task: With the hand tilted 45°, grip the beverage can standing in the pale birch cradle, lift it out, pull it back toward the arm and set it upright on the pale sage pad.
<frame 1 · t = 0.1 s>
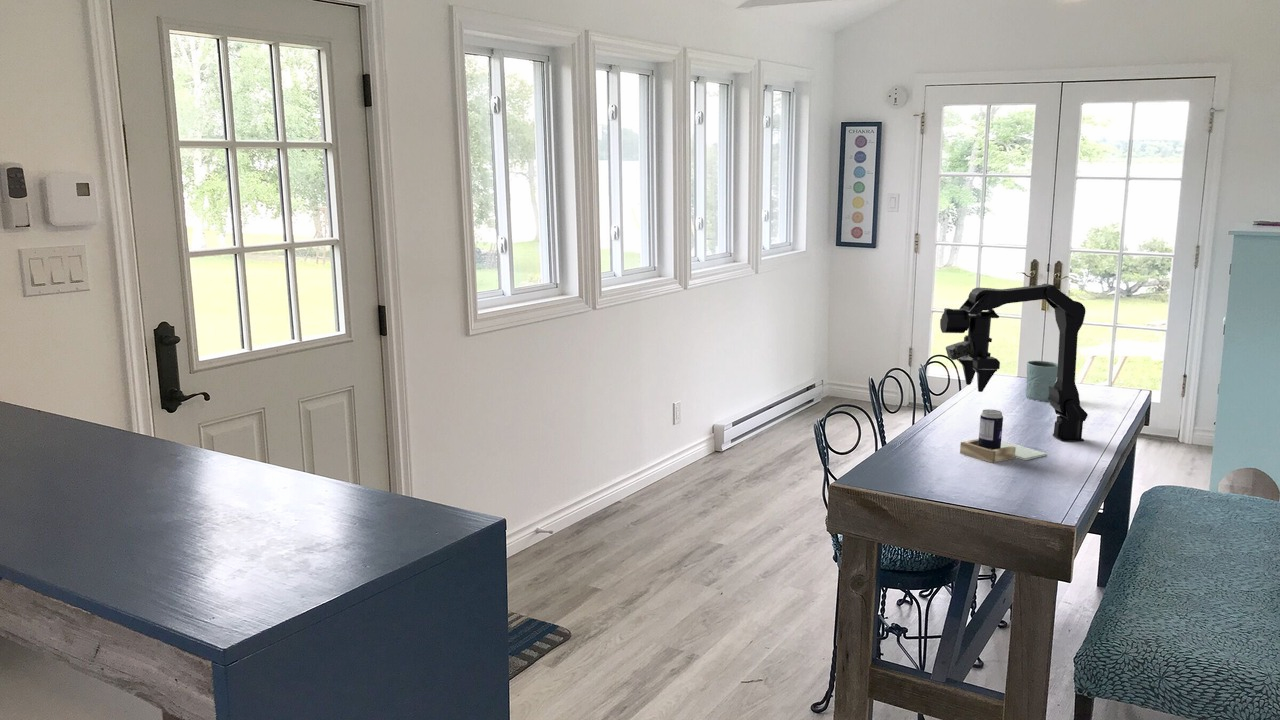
hand: (974, 388, 276), 15 cm above the table, tool pointing down, fingers open, 9 cm apart
beverage can: (988, 455, 262), on the table
birch cradle: (988, 455, 262), on the table
sage pad: (1010, 450, 267), on the table
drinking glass: (1039, 399, 330), on the table
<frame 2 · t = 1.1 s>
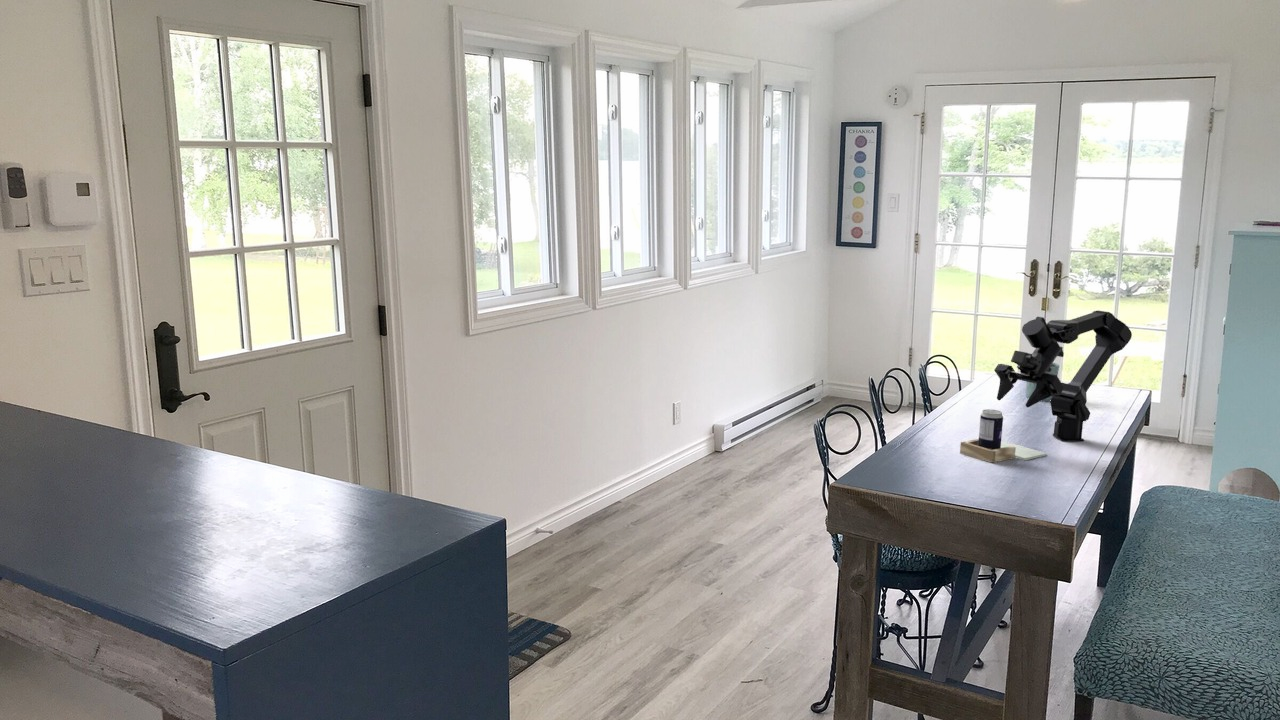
hand: (1012, 402, 264), 13 cm above the table, tool tilted 45°, fingers open, 9 cm apart
nothing on the table moved.
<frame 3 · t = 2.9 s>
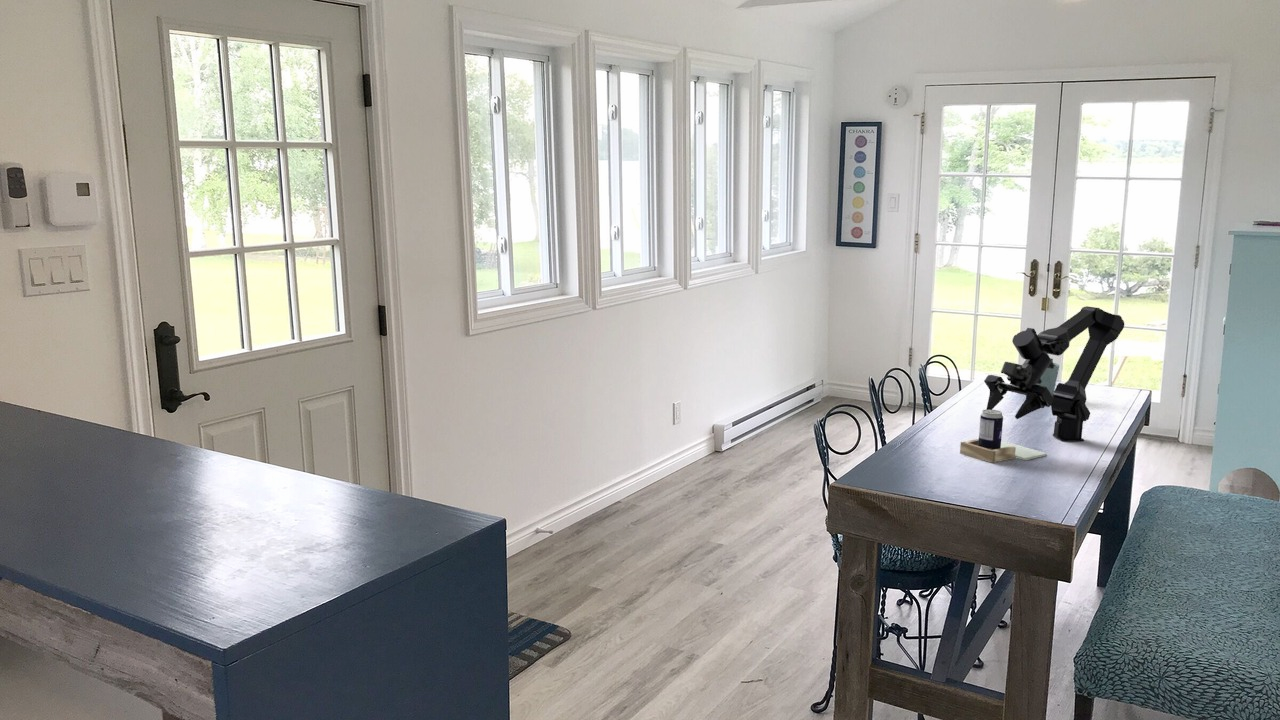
hand: (1001, 414, 262), 11 cm above the table, tool tilted 45°, fingers open, 9 cm apart
nothing on the table moved.
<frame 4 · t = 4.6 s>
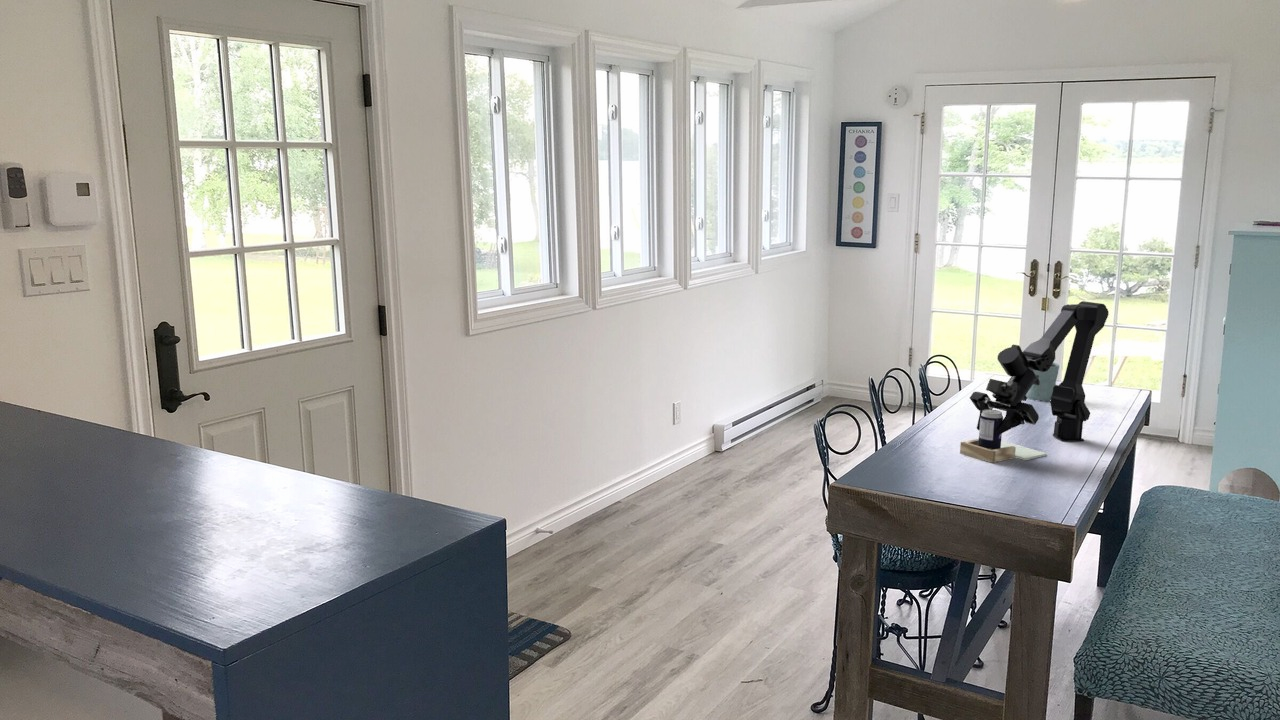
hand: (986, 431, 260), 7 cm above the table, tool tilted 45°, fingers closed on beverage can, 6 cm apart
beverage can: (988, 455, 262), on the table, touching gripper
everything else where it was.
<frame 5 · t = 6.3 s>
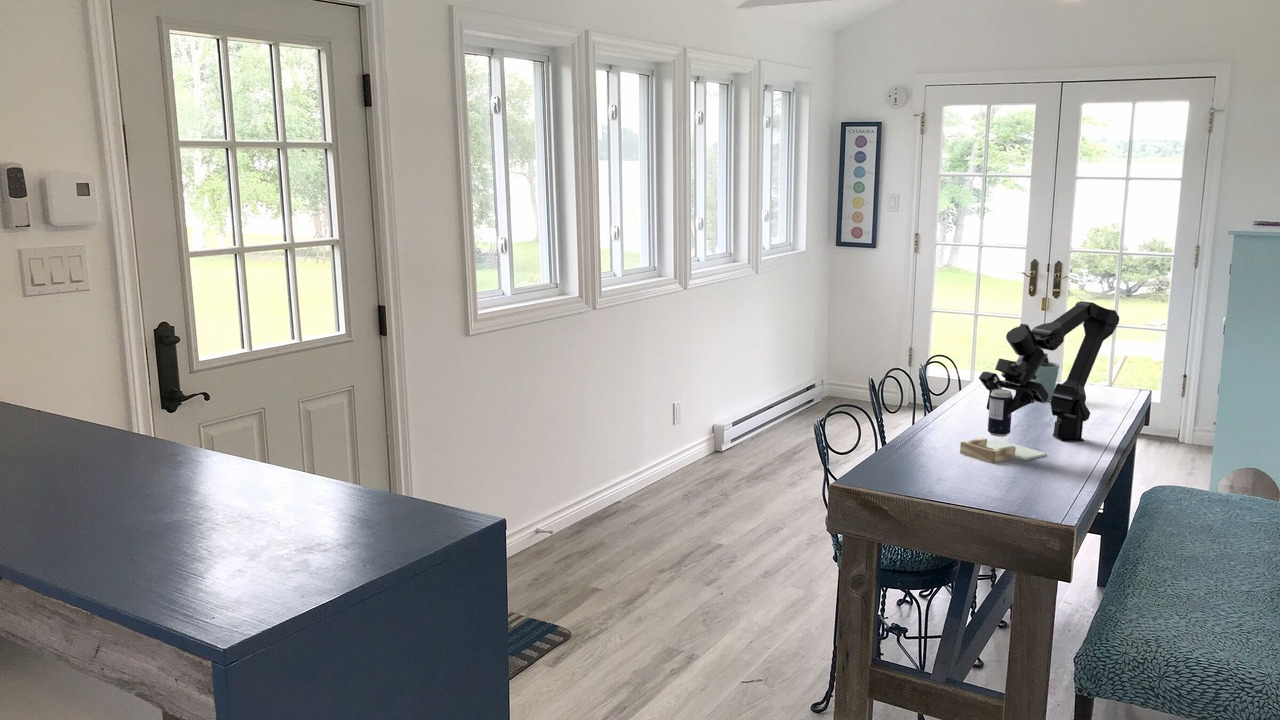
hand: (996, 411, 261), 12 cm above the table, tool tilted 45°, fingers closed on beverage can, 6 cm apart
beverage can: (998, 435, 263), point 5 cm above the table, touching gripper
everything else where it was.
when the fingers open (8 cm above the table, at t = 8.2 s): beverage can stays where it is, resting on sage pad.
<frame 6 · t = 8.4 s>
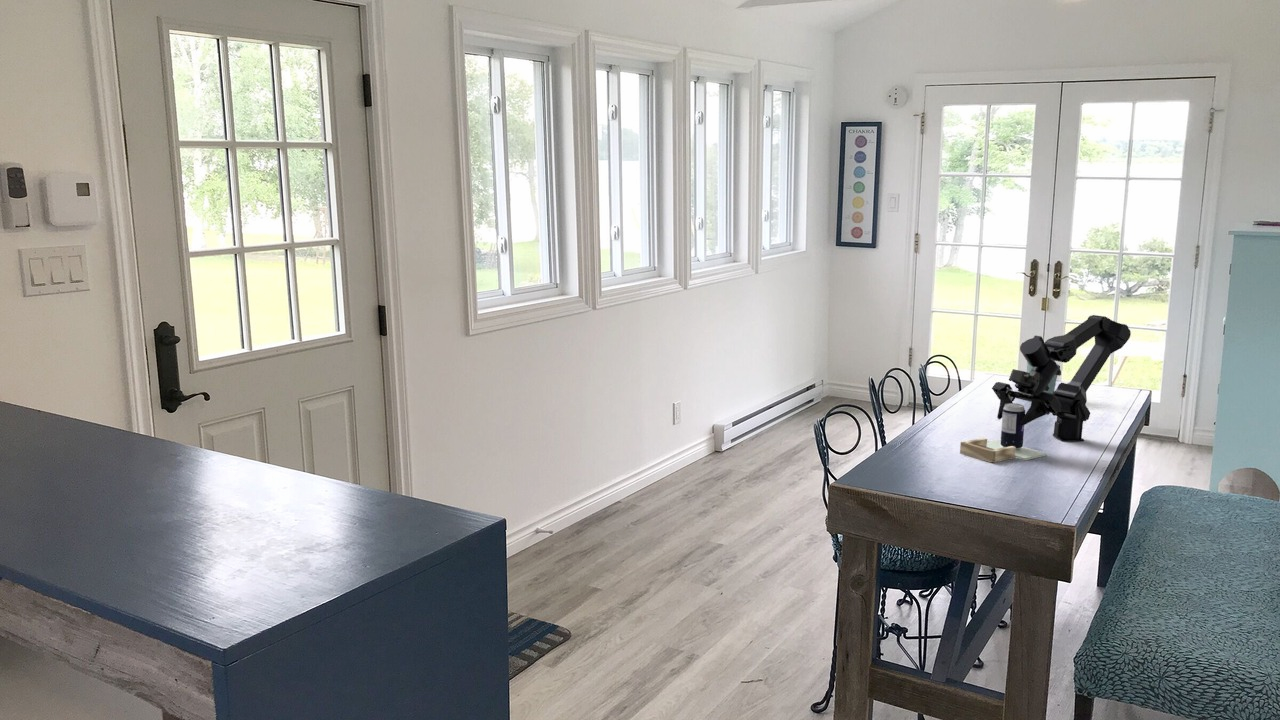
hand: (1009, 421, 264), 8 cm above the table, tool tilted 45°, fingers open, 7 cm apart
beverage can: (1011, 448, 267), resting on sage pad
everything else where it was.
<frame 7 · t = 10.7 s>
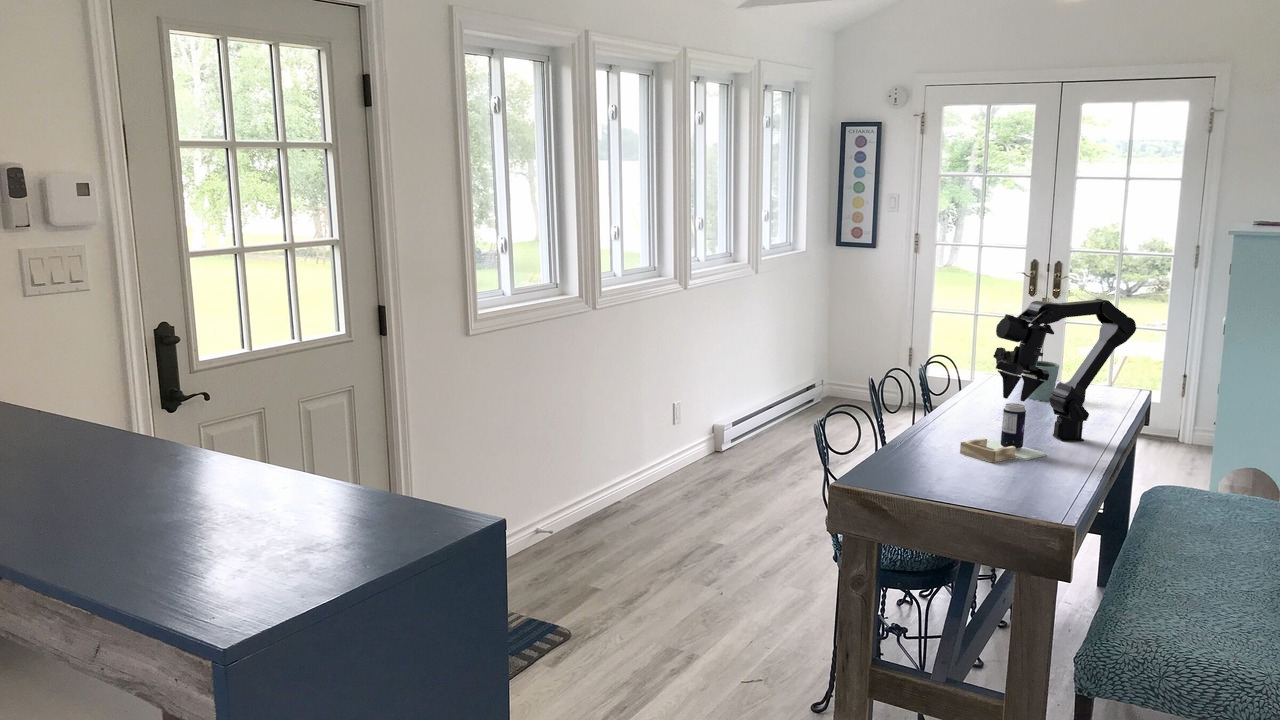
hand: (1013, 399, 274), 12 cm above the table, tool pointing down, fingers open, 9 cm apart
nothing on the table moved.
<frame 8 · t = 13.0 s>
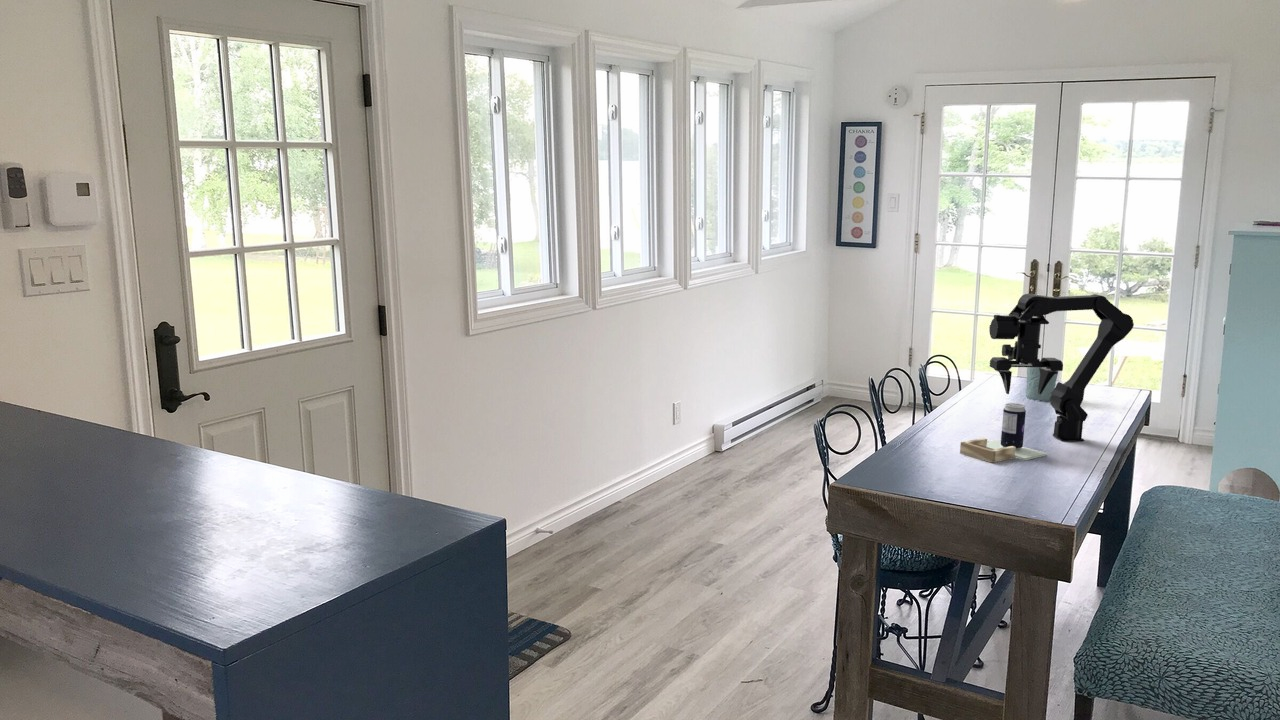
hand: (1023, 393, 277), 13 cm above the table, tool pointing down, fingers open, 9 cm apart
nothing on the table moved.
at the end: beverage can inside the target area on the sage pad (0.2 cm from its centre), point 0.4 cm above the sage pad's base; beverage can tilted 0°; the gripper is holding nothing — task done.
